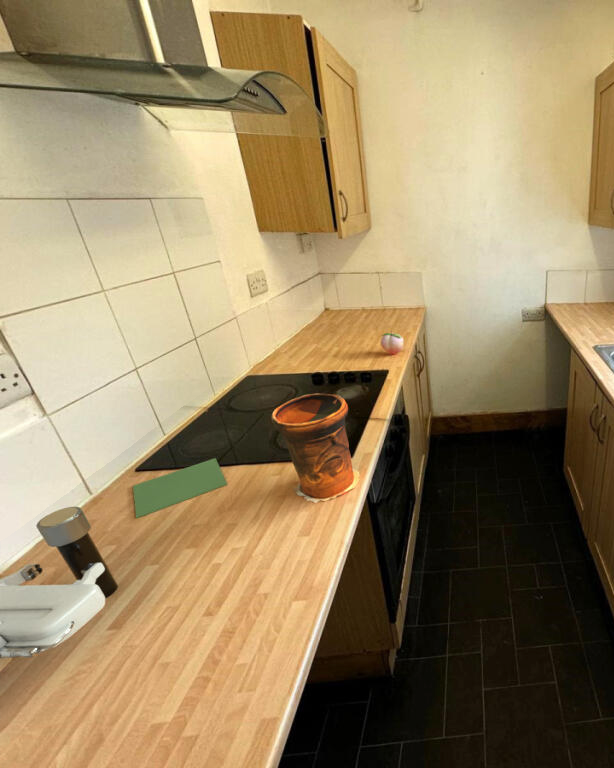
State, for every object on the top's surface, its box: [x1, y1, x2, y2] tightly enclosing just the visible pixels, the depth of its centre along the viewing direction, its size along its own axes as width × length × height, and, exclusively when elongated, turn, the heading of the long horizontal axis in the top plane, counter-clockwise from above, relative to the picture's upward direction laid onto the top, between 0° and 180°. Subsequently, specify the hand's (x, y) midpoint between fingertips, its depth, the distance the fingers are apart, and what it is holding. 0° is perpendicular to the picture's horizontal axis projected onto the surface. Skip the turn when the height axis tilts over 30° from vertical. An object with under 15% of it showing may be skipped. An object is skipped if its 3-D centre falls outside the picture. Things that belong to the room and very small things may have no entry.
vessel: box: [270, 392, 361, 504], centre depth 90 cm, size 14×14×20 cm
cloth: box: [132, 457, 228, 519], centre depth 94 cm, size 16×14×1 cm
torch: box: [36, 506, 119, 599], centre depth 65 cm, size 5×5×16 cm
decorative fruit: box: [380, 332, 405, 355], centre depth 170 cm, size 9×8×10 cm
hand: (67, 566), depth 63 cm, fingers open, 8 cm apart
